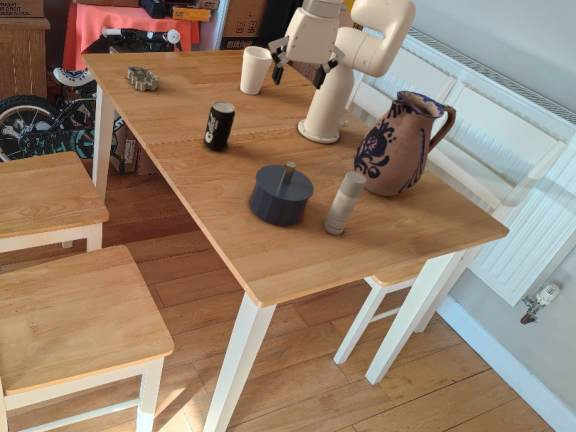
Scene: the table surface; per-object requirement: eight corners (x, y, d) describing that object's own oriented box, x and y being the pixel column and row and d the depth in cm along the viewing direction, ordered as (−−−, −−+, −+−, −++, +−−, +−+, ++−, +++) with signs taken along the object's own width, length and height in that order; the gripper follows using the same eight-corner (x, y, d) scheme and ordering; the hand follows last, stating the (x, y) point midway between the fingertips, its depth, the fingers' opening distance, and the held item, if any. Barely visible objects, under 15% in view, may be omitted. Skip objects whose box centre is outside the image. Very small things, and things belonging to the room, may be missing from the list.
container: (326, 218, 123) (349, 168, 114) (345, 227, 122) (369, 177, 113) (320, 228, 120) (343, 177, 111) (339, 237, 119) (363, 186, 109)
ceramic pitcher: (332, 168, 142) (367, 85, 126) (392, 163, 149) (433, 84, 133) (369, 209, 130) (412, 122, 114) (432, 201, 137) (481, 120, 121)
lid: (290, 165, 126) (298, 144, 122) (323, 199, 117) (332, 177, 114) (244, 172, 120) (250, 150, 116) (275, 208, 112) (283, 186, 108)
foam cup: (245, 80, 175) (254, 44, 167) (268, 91, 172) (278, 54, 164) (230, 88, 169) (239, 50, 160) (253, 99, 165) (264, 61, 157)
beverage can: (224, 154, 138) (234, 115, 130) (200, 148, 138) (209, 108, 130) (228, 142, 143) (238, 104, 135) (205, 136, 143) (213, 97, 135)
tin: (282, 188, 130) (291, 164, 125) (311, 220, 122) (321, 196, 117) (240, 196, 125) (247, 171, 120) (267, 230, 116) (276, 204, 112)
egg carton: (158, 91, 159) (160, 78, 156) (135, 92, 156) (137, 79, 153) (147, 75, 166) (148, 63, 163) (125, 75, 163) (126, 63, 160)
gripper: (353, 6, 108) (326, 81, 119) (276, -6, 105) (255, 73, 115) (367, 19, 103) (337, 96, 113) (286, 7, 99) (263, 88, 110)
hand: (295, 84), depth 114 cm, fingers open, 9 cm apart
